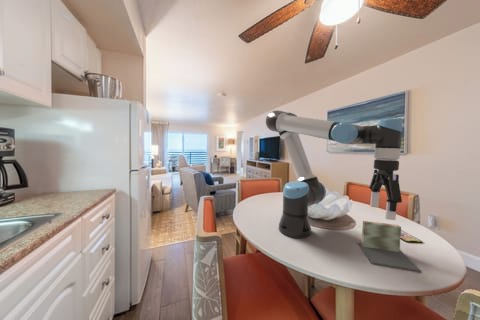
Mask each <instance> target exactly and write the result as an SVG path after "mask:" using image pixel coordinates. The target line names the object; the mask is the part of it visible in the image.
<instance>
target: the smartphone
mask: <svg viewBox="0 0 480 320" xmlns="http://www.w3.org/2000/svg"><path fill="white" fill-rule="evenodd" d="M400 241H403V242H405V243H406V244H407V243H408V244H423V240H421V239H419V238H418V237H415V236H413V235H412V234H410V233H408V232H406V231H404V230H402V229H401V236H400Z"/></svg>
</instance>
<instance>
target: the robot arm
mask: <svg viewBox="0 0 480 320" xmlns="http://www.w3.org/2000/svg"><path fill="white" fill-rule="evenodd" d="M265 125H266V127H267V129H269V130H270V131H271V132H274V133H275V132H276V133H277V132H278V135H279V137H280V139H282V140H283V141H284V145H285V147H286V150H287V153H288V156H289V160H290V163H291V166H292V168H293V171H294V175H295V177H296V180H295V181H290V182H289V181H288V182H287V183H285V184H284V186H283V191H282V195H283V197H282V198H283V199H282V215H281V218H280V220H279V223H278V231H279V232H280V233H281V234H283V235H285V236H288V237H290V238H296V239H304V238H308V237H310V236H311V234H312V226H311V224H310V220H309V207H312V206H314V205H318V204H319V203H321V202H323V201H324V199H325V198H326V195H327V189H326V187H325V185H324V184H323V183H322V182H320V181H319V178H318V177H317V175H315V174H313V170H312V168H311V166H310V165H311V164H310V163H309V160H308V158H307V155H306V152H305V149H304V147H303V143H302V140H301V138H300V135H304V136H308V137H309V136H310V137H314V138H319V139H323V140H329V141H333V142H336V143H339V144H344V145H345V144H347V145H375V148H374V156H373V157H374V161H373V169H374V171H373V175H372V179H371V182H370V185H369V190H370V192H371V195H370V207H371V208H377V209H379V205H380V204H379V203H380V193H381V188H382V187H383V186H384V189H385V192H386V195H387V200H386V208H385V220H389V221H396V218H397V217H396V216H397V207H398V204H399V203H402V202H403V201H402V194H401V188H400V181H399V177H400V175H399V174H396V173H395V174H394V172H395V171H398V170H399V169H400V161H399V159H400V156H401V154H402V151H401V148H402V147H401V146H402V139H403V138H402V137H403V132H404V131H403V120H402V119H400V118H384V119H378V121H377V124H375V125H374V124H373V125H362V126H361V125H359V124H358V125H357V124H353V123H351V122H340V121H334V120H325V119H319V118H312V117H303V116H298V115H297V114H295V113H292V112H286V111H282V110H279V109H278V110H272V111H270V112H269V113H268V114H267V116H266V117H265Z"/></svg>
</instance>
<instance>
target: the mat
mask: <svg viewBox="0 0 480 320" xmlns="http://www.w3.org/2000/svg"><path fill="white" fill-rule="evenodd" d="M357 244H358V246H359V247H360V249H361V251H362V252H363V253H364V256H366V258H367V260H368V261H369V262H370V265H371V264H372V265H377V266H382V267H387V268H388V267H389V268H393V269H400V270H405V271H412V272H418V273H422V270H421V269H420V268H419V267H418V266H417V265H416V263H414V262H413V261H412V260H411V259H410V258H409V257H408V256H407V254H405V253H404V252H403V251H402V250H401V249H399V252H395V251H389V250H382V249H376V248H369V247H363V245H362V241H361V242H360V241H358V242H357Z"/></svg>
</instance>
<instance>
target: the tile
mask: <svg viewBox="0 0 480 320" xmlns="http://www.w3.org/2000/svg"><path fill="white" fill-rule="evenodd" d="M401 230H402V226H401V225H399V224H393V223H383V222H374V221H367V220H363V221H362V233H361V242H362V245H363V247H369V248H376V249H382V250H389V251H395V252H399V249H400V247H401V245H400V244H401V239H400V236H401ZM400 250H401V249H400Z"/></svg>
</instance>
